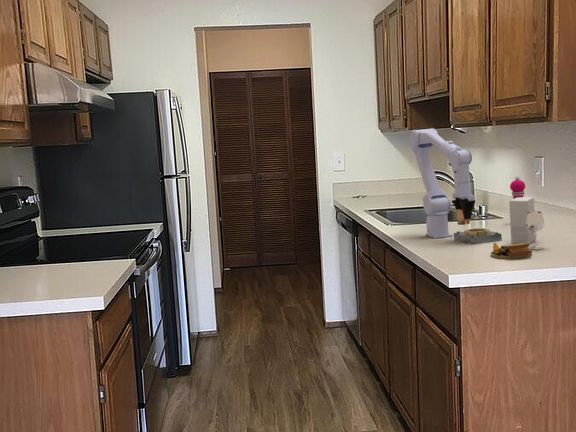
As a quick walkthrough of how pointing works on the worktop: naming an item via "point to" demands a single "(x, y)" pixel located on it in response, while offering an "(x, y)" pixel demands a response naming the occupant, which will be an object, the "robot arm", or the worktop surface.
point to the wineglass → (534, 224)
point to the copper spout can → (461, 217)
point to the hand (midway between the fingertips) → (464, 218)
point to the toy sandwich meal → (511, 251)
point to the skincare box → (521, 220)
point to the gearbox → (477, 236)
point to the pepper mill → (517, 188)
